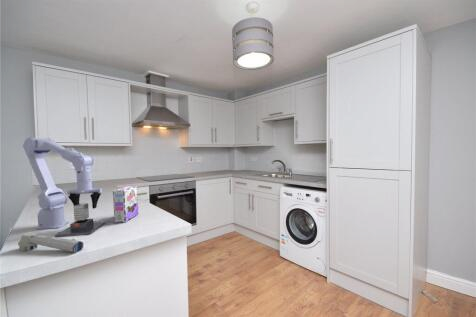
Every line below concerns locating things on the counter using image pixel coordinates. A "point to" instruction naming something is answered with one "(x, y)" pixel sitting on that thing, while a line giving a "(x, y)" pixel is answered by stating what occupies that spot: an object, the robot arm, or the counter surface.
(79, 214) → the column
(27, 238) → the grey elongated piece
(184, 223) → the counter surface
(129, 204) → the candy box
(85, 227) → the stand
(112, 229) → the counter surface
